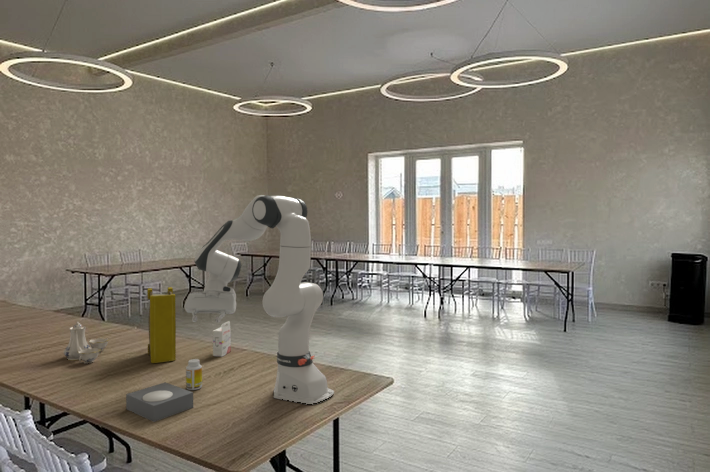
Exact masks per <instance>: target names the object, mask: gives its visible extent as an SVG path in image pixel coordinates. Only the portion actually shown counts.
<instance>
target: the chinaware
mask: <svg viewBox="0 0 710 472" xmlns="http://www.w3.org/2000/svg"><path fill="white" fill-rule="evenodd" d="M86 328H87V327H86V326H85V325H84V326H83V324H81V323H80V322H79V321H76V322H75V324H74V325H73V326H72V327H69V331H70V339H69V342H68V344H67V346H66V348H65V349H64V350H63V355H64V356H65V357H66V360H67V359H68V361H79V363H81V364H82V363H84V364H88V363H89V364H93V363H94V361H95V360H96V359H97V358H98V356H99V354H100V353H101V351H102V352H103V351H104V349H106V347H107V346H108V342H109V341H110V339H109V337H107V338H103V337H97V338H95V339H89V341H87V338H86V335H85V334H86ZM81 359H82V360H81ZM92 362H93V363H92Z"/></svg>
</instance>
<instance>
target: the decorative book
mask: <svg viewBox="0 0 710 472" xmlns="http://www.w3.org/2000/svg"><path fill="white" fill-rule="evenodd" d="M146 291H147V300H149V307H148V308H149V311H148V320H147V321H148V340H149V343H148V344H147V355H148V356H150V363H151V364H159V363H160V364H161V363H167V362H173V361H176V360H177V359H176V357H177V355H176V354H177V353H176V352H177V348H176V345H177V344H176V341H177V339H176V333H177V332H176V331H177V326H176V321H177V320H176V316H177V315H176V313H177V312H176V294H175V293H174V288H173V287H172V286H170V287H167V293H165V292H164V293H153V288H151V287H150V288H149V287H148V288H147V289H146Z"/></svg>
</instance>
